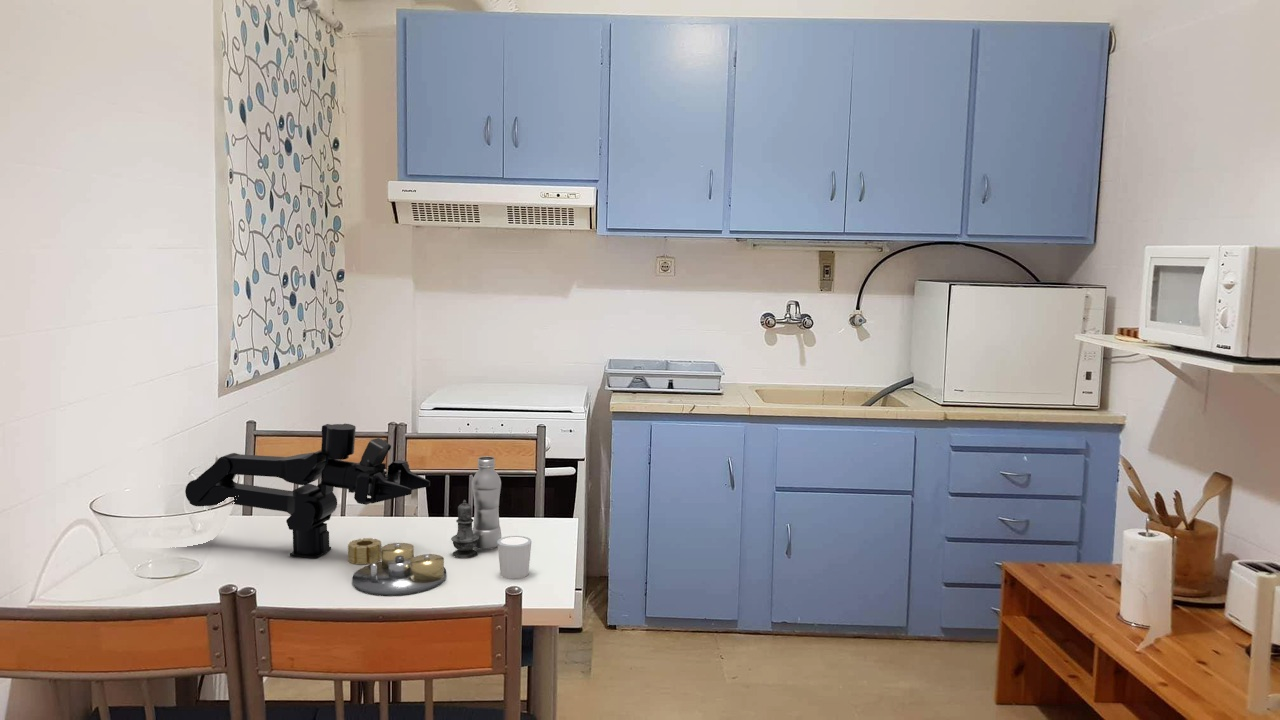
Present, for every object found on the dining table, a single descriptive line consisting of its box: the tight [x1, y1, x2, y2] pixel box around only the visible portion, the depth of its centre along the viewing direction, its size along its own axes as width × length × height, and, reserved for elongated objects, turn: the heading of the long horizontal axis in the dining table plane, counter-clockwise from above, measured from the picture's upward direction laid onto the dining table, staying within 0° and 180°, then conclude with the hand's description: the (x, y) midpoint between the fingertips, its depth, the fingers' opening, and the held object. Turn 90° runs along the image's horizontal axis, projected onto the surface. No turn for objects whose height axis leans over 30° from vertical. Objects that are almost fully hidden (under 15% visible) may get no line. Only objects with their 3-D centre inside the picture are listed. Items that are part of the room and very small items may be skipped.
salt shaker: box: [450, 499, 479, 559], centre depth 202 cm, size 6×6×12 cm
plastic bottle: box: [471, 455, 502, 550], centre depth 206 cm, size 6×7×20 cm
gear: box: [347, 537, 382, 566], centre depth 198 cm, size 6×6×4 cm
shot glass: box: [497, 535, 532, 580], centre depth 191 cm, size 7×7×7 cm
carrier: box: [352, 542, 447, 597], centre depth 187 cm, size 18×18×5 cm
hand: (420, 487), depth 195 cm, fingers open, 9 cm apart
